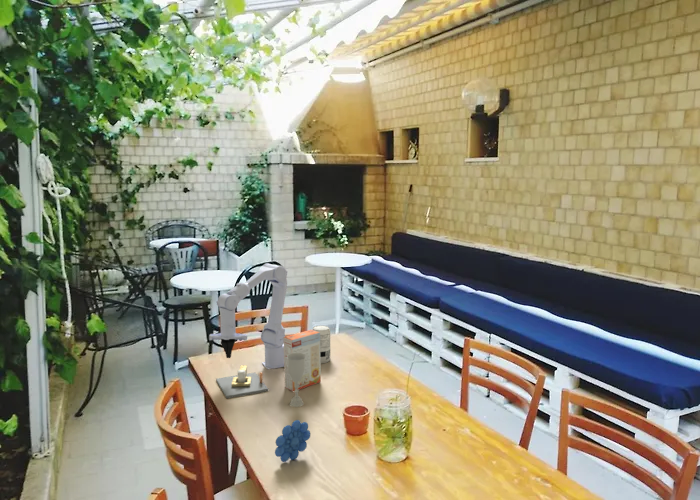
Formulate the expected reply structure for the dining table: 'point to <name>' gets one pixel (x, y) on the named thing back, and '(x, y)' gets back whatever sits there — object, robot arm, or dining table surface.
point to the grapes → (292, 441)
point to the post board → (254, 387)
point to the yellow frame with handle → (244, 367)
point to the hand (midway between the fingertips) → (228, 357)
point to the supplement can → (324, 342)
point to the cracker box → (311, 348)
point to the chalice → (296, 374)
